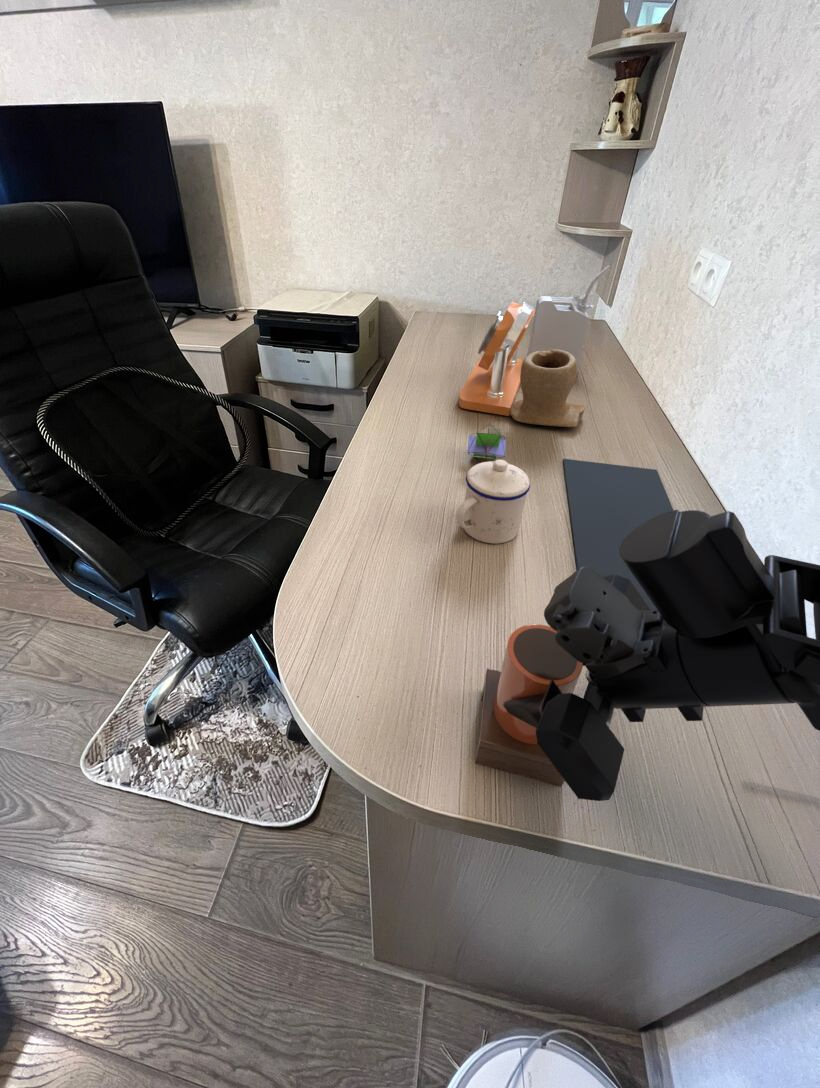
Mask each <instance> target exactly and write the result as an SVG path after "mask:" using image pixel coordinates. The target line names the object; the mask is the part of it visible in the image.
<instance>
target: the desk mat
mask: <svg viewBox="0 0 820 1088" xmlns="http://www.w3.org/2000/svg"><path fill="white" fill-rule="evenodd" d="M562 466H563V473H564V481H565V488H566V489H565V490H566V496H567V504H568V505H567V506H568V514H569V519H570V529H571V535H572V536H571V537H572V543H573V550H574V551H573V553H574V558H575V559H574V560H575V565H576V571H577V570H579V569H580V568H581V567H589V568H591V569H592V570H594V571H595V572H596V573H598V574H599V575H600V576H601V577H605V576H609V575H613V574H616V575H619V576H621V577H624V578H627V579H629V580H630V581H631V582H632V583H633V585H634V586H635V588H636V589H637V591H638V592H639V593H640V595H641V596H642V598H643V599H644V601H645V602H646V604H647V605H648V606H649V608H650V609H651V610H654V609H657V608H656V607H655V606H654V604H653V603H652V601H651V600H650V598H649V597H648V595H647V594H646V593H645V591H644V590H643V588H642V587H641V585H640V584H639V582H638V581H637V580H636V578H635V577H634V575H633V574H632V572H631V571H630V569H629V568H628V567H627V565H626V564H625V562H624V561H623V559H622V558H621V556H620V555H619V548H620V545H621V543H622V542H623V540H624V539H625V538H626V537H627V536H628V535H629V534H630V533H631V532H632V531H633V530H635V529H636V528H637V527H638V526H640V525H642V524H643V523H645V522H647V521H648V520H650V519H652V518H654V517H656V516H659V515H661V514H664V513H667V512H670V511H673V510H674V508H673V505H672V503H671V501H670V498H669V496H668V493H667V491H666V489H665V486H664V484H663V481H662V478H661V477H660V474H659V472H658V469H655V468H645V467H637V466H629V465H621V464H611V463H605V462H595V461H587V460H578V459H572V458H563V459H562Z"/></svg>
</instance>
